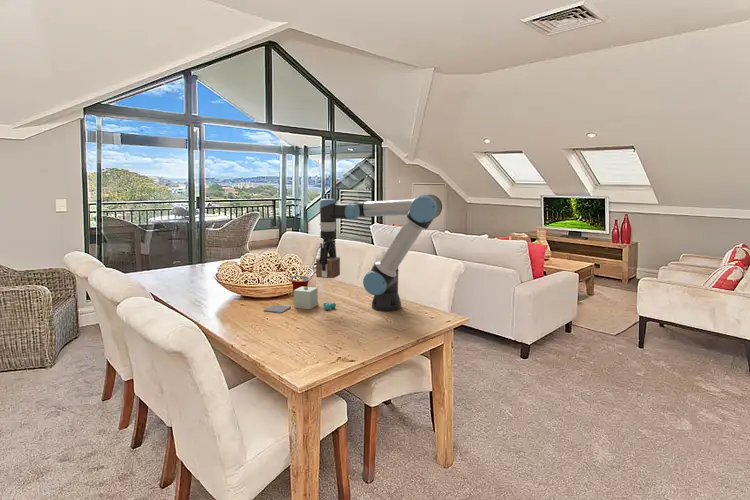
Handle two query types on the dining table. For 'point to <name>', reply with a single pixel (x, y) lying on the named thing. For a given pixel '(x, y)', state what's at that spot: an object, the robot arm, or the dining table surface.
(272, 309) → the grey square plate
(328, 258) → the walnut cover
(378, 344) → the dining table surface
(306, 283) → the plastic cup
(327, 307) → the marbles
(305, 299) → the sage cover
